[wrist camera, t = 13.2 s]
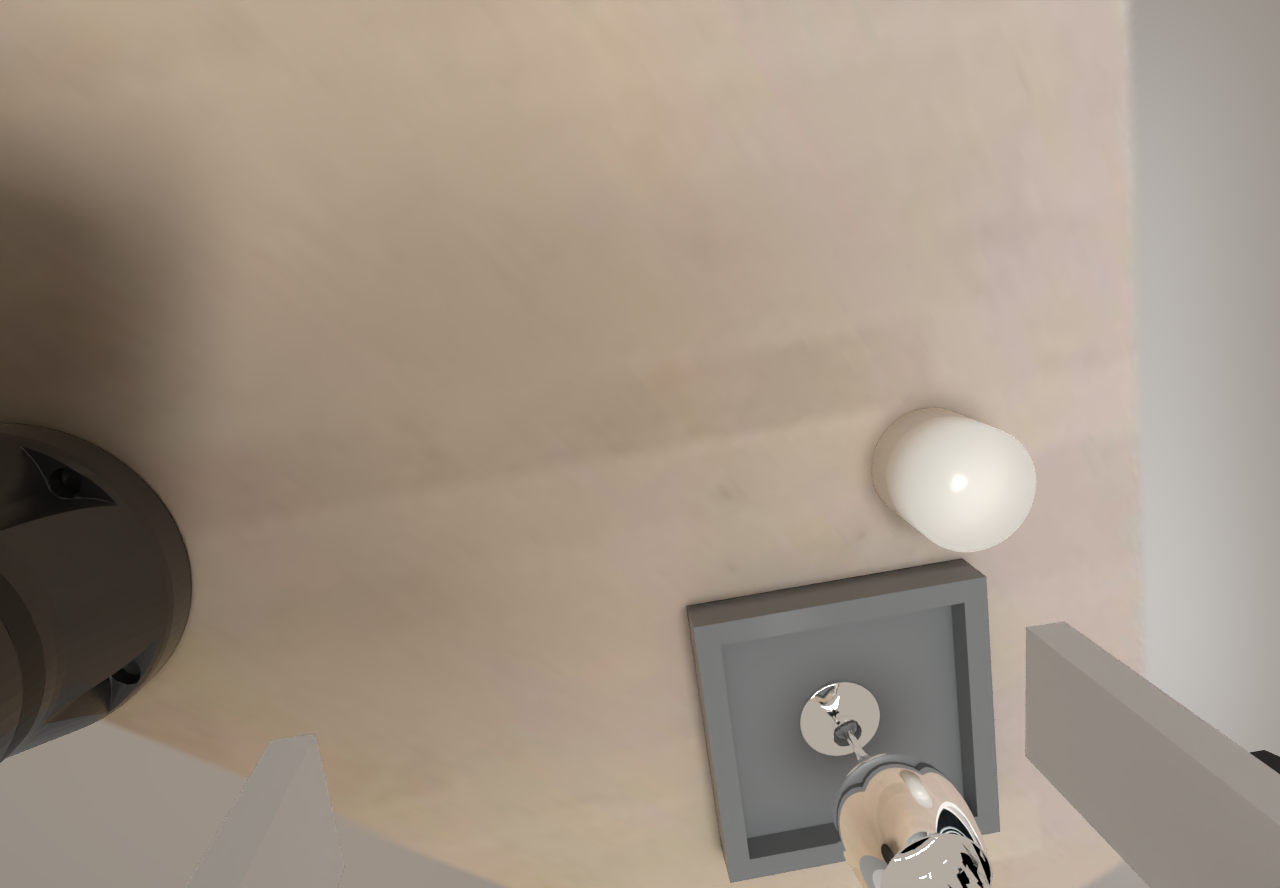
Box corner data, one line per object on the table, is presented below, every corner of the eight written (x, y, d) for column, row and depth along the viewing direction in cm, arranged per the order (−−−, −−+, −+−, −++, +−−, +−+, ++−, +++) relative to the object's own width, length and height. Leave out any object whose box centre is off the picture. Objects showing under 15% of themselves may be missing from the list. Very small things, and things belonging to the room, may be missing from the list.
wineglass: (767, 740, 44) (838, 914, 32) (822, 652, 43) (915, 798, 31) (856, 781, 45) (955, 964, 33) (911, 696, 44) (1034, 853, 32)
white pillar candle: (876, 528, 43) (915, 562, 38) (866, 417, 42) (905, 438, 37) (986, 508, 43) (1038, 540, 38) (979, 398, 42) (1033, 416, 37)
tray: (721, 848, 46) (730, 882, 44) (686, 606, 43) (693, 627, 40) (977, 800, 47) (1000, 831, 44) (962, 558, 44) (986, 576, 41)
